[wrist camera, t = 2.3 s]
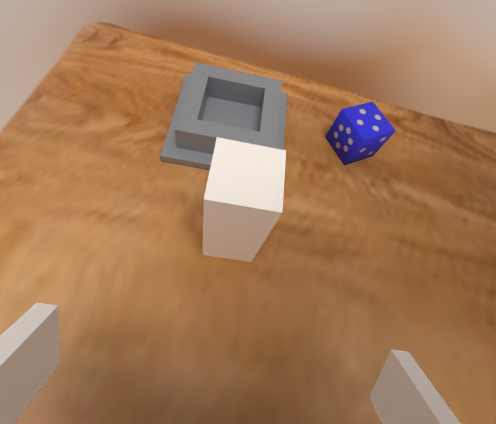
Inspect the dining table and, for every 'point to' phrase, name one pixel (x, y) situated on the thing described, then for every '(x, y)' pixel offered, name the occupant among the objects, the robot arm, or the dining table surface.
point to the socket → (223, 114)
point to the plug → (242, 198)
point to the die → (359, 132)
